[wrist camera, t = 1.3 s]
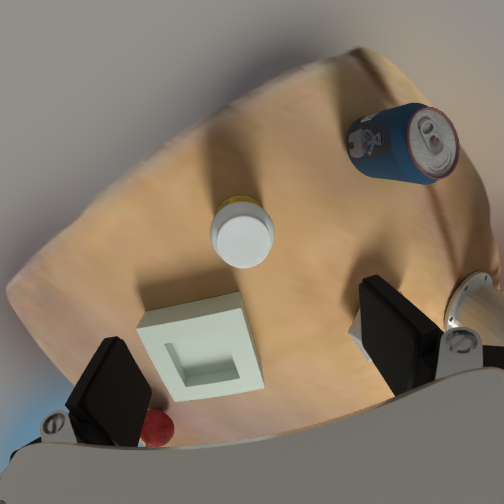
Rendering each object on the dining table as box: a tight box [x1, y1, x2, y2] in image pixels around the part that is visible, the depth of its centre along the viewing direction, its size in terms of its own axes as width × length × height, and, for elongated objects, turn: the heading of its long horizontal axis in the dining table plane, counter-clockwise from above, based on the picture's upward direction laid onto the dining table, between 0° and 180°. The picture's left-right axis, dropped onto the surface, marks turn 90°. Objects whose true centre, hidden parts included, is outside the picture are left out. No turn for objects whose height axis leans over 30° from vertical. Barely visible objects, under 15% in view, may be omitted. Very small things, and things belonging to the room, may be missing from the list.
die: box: [348, 292, 402, 362], centre depth 30 cm, size 8×9×10 cm
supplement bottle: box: [210, 195, 275, 268], centre depth 25 cm, size 5×5×10 cm
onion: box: [140, 410, 174, 447], centre depth 34 cm, size 6×6×8 cm
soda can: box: [347, 103, 459, 185], centre depth 22 cm, size 7×7×12 cm
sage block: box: [136, 291, 265, 402], centre depth 32 cm, size 12×12×4 cm
